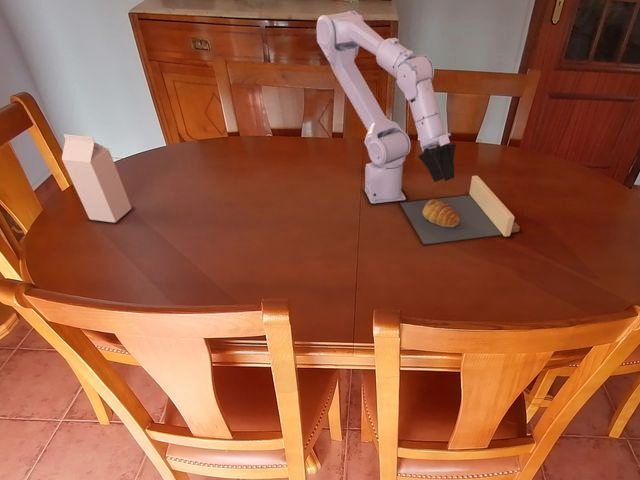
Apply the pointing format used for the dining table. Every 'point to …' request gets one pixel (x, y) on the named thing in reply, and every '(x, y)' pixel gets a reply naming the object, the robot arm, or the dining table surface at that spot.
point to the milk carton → (95, 178)
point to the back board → (493, 207)
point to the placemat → (467, 228)
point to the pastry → (440, 214)
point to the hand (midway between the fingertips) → (444, 180)
